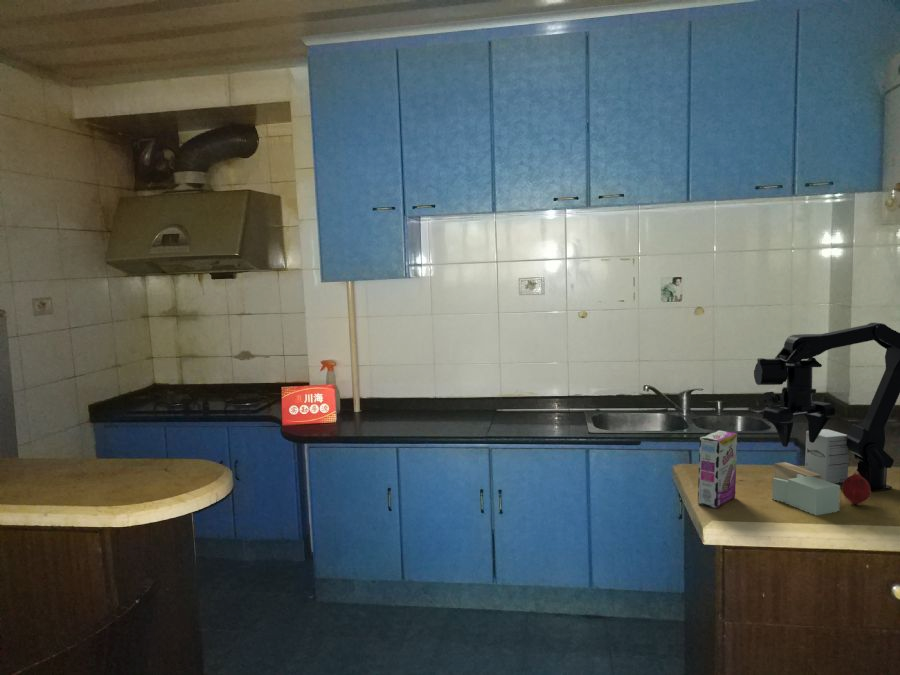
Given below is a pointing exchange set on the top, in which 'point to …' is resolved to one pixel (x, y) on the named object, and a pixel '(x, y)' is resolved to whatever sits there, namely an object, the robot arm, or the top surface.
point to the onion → (856, 488)
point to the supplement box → (828, 456)
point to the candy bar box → (717, 468)
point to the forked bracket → (808, 494)
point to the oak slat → (791, 471)
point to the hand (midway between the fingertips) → (798, 444)
